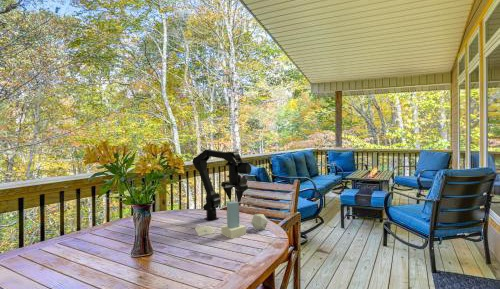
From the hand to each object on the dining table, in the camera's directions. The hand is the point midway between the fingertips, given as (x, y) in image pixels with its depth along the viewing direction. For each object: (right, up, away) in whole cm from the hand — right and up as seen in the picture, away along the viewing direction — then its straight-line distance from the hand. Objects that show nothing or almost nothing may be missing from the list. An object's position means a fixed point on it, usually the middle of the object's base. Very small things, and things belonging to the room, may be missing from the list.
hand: (234, 200), depth 168 cm
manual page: (-15, -14, -12) cm, 24 cm away
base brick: (+1, -14, -19) cm, 23 cm away
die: (+14, -13, -12) cm, 23 cm away
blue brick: (0, -10, -19) cm, 21 cm away
